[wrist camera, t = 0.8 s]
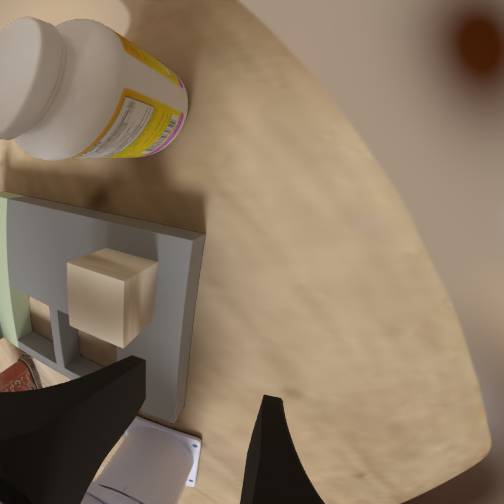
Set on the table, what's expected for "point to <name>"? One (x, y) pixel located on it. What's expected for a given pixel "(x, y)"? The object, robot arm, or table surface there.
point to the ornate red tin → (20, 376)
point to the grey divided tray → (56, 294)
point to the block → (111, 295)
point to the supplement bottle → (85, 92)
